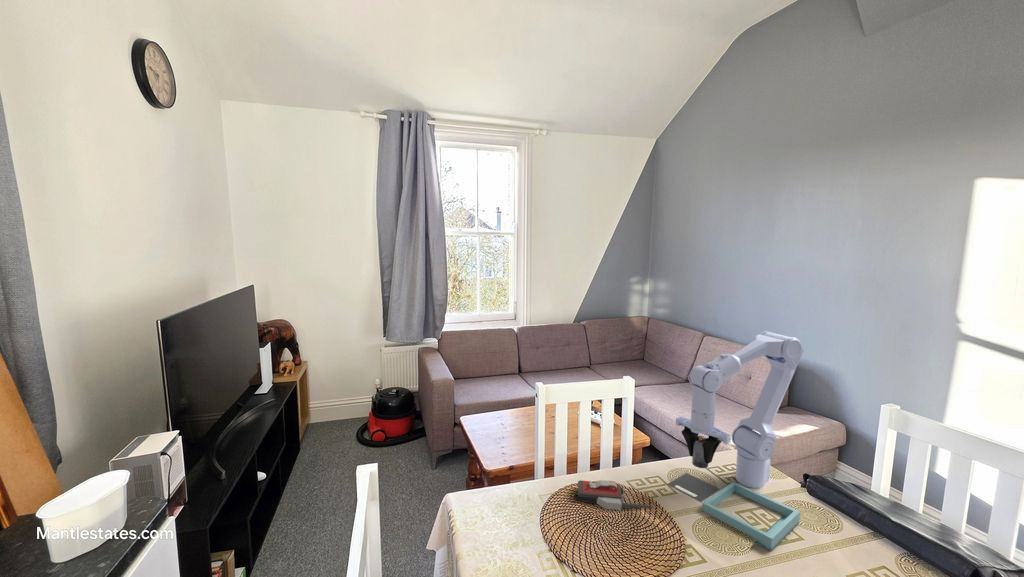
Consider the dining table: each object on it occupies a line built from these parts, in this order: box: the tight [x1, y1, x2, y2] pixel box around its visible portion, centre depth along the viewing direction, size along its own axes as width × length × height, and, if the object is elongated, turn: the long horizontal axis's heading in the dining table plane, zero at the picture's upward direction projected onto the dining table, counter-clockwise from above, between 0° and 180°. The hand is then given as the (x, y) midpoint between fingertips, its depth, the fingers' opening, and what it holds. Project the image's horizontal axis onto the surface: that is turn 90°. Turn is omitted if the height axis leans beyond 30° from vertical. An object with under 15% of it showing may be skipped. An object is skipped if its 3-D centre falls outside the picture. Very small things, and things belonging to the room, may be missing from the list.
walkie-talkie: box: [573, 479, 654, 512], centre depth 110 cm, size 9×4×20 cm
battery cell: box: [691, 435, 709, 469], centre depth 112 cm, size 4×4×8 cm
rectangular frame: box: [701, 481, 801, 552], centre depth 103 cm, size 16×16×3 cm
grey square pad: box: [666, 472, 720, 503], centre depth 115 cm, size 10×10×1 cm
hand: (700, 458), depth 113 cm, fingers closed on battery cell, 4 cm apart
